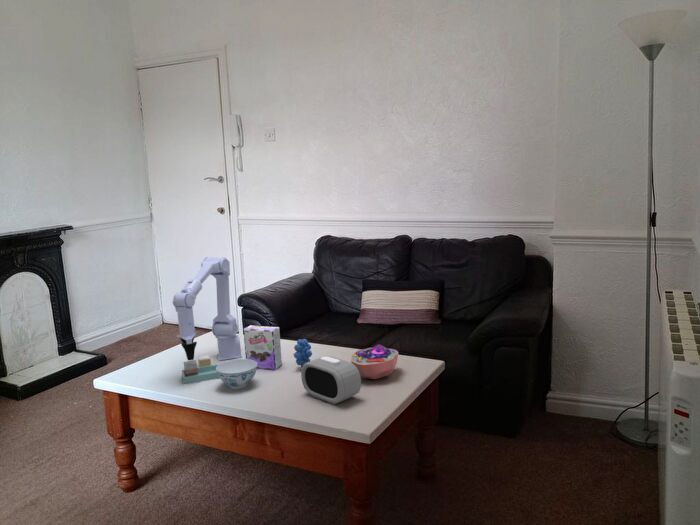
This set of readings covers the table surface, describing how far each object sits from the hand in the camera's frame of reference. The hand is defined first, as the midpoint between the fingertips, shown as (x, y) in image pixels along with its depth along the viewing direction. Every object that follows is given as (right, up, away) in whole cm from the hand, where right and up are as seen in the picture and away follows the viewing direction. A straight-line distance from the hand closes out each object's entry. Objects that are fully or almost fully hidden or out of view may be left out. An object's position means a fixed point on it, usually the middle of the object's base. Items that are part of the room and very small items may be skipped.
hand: (189, 356), depth 222 cm
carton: (+3, -7, +13) cm, 15 cm away
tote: (+4, -8, +3) cm, 10 cm away
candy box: (+27, -6, +11) cm, 30 cm away
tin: (0, -8, +1) cm, 8 cm away
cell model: (+72, -6, -6) cm, 72 cm away
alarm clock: (+56, -10, -23) cm, 61 cm away
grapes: (+44, -6, +7) cm, 45 cm away
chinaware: (+20, -10, -8) cm, 24 cm away
